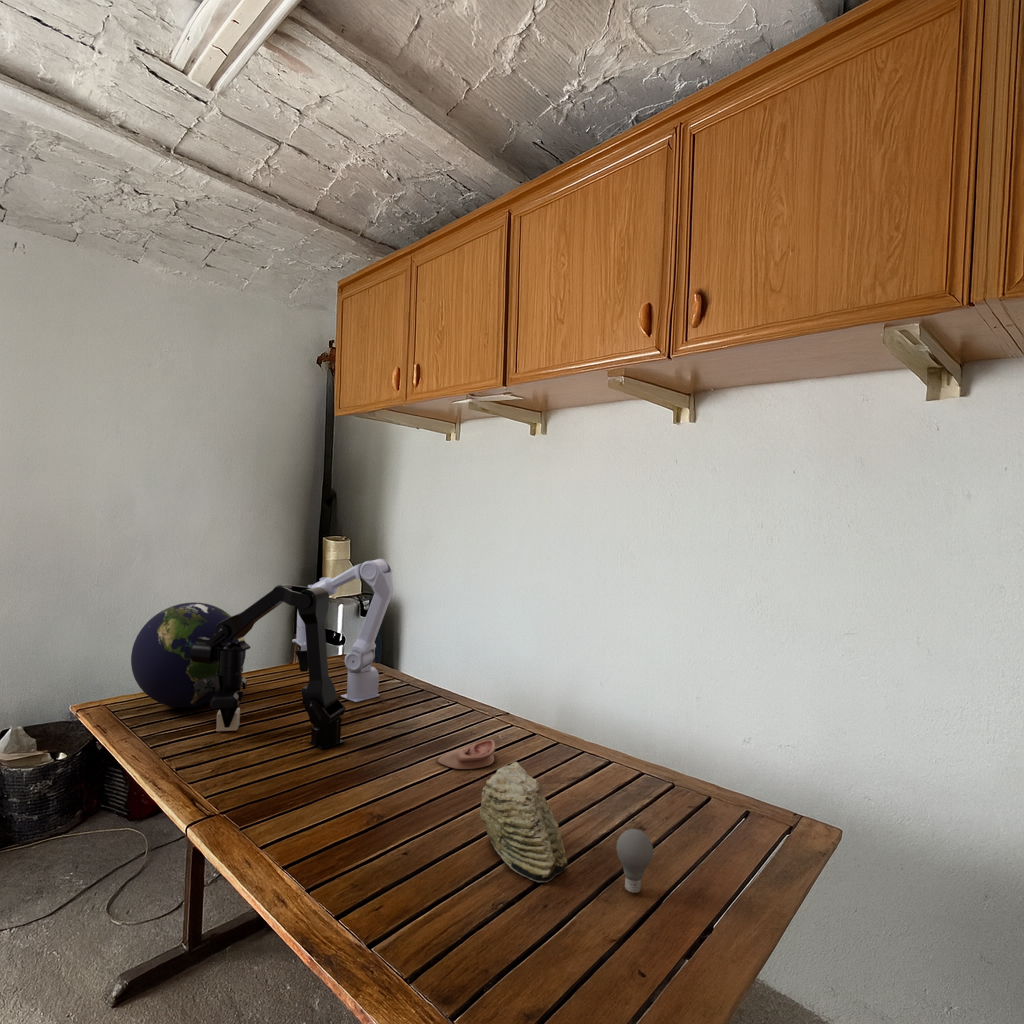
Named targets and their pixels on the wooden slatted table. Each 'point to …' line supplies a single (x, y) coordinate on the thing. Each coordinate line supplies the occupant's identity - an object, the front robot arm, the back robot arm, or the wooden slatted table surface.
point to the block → (234, 723)
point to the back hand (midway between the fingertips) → (304, 668)
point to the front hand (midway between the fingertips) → (228, 724)
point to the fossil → (522, 824)
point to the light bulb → (634, 857)
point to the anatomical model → (470, 756)
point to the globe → (176, 653)
